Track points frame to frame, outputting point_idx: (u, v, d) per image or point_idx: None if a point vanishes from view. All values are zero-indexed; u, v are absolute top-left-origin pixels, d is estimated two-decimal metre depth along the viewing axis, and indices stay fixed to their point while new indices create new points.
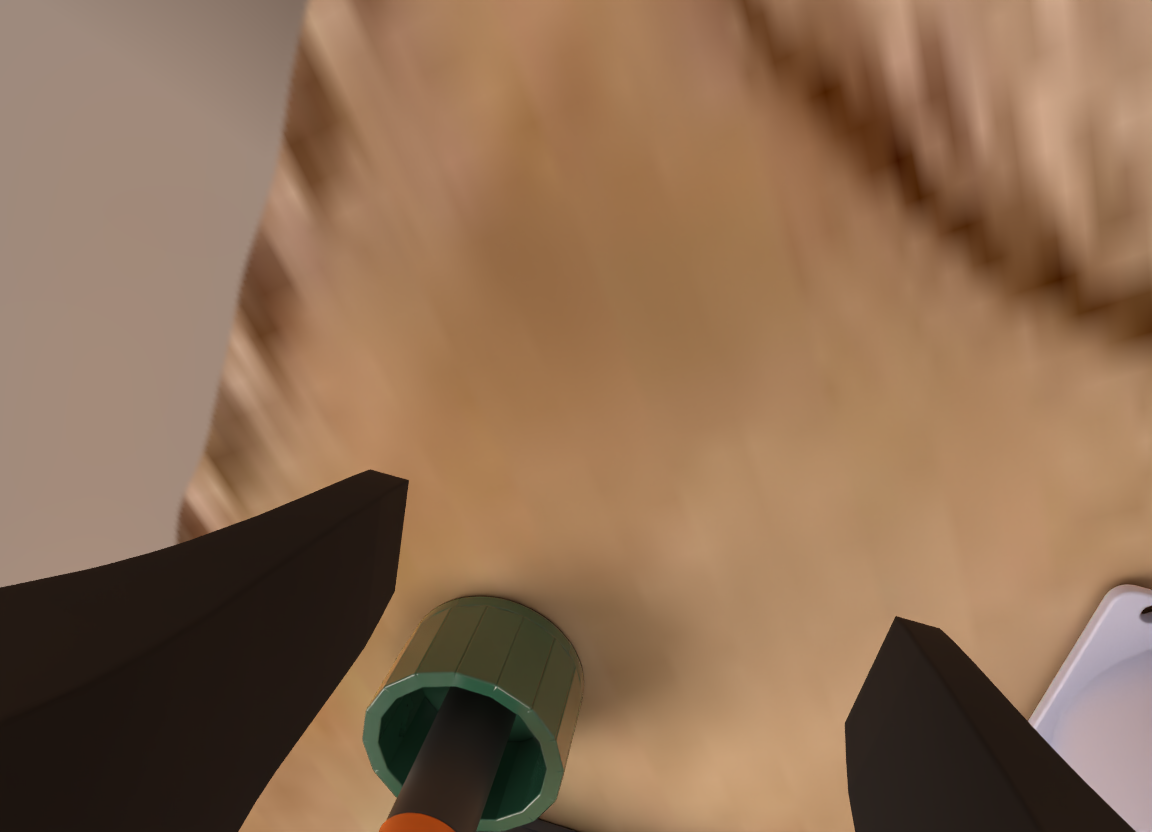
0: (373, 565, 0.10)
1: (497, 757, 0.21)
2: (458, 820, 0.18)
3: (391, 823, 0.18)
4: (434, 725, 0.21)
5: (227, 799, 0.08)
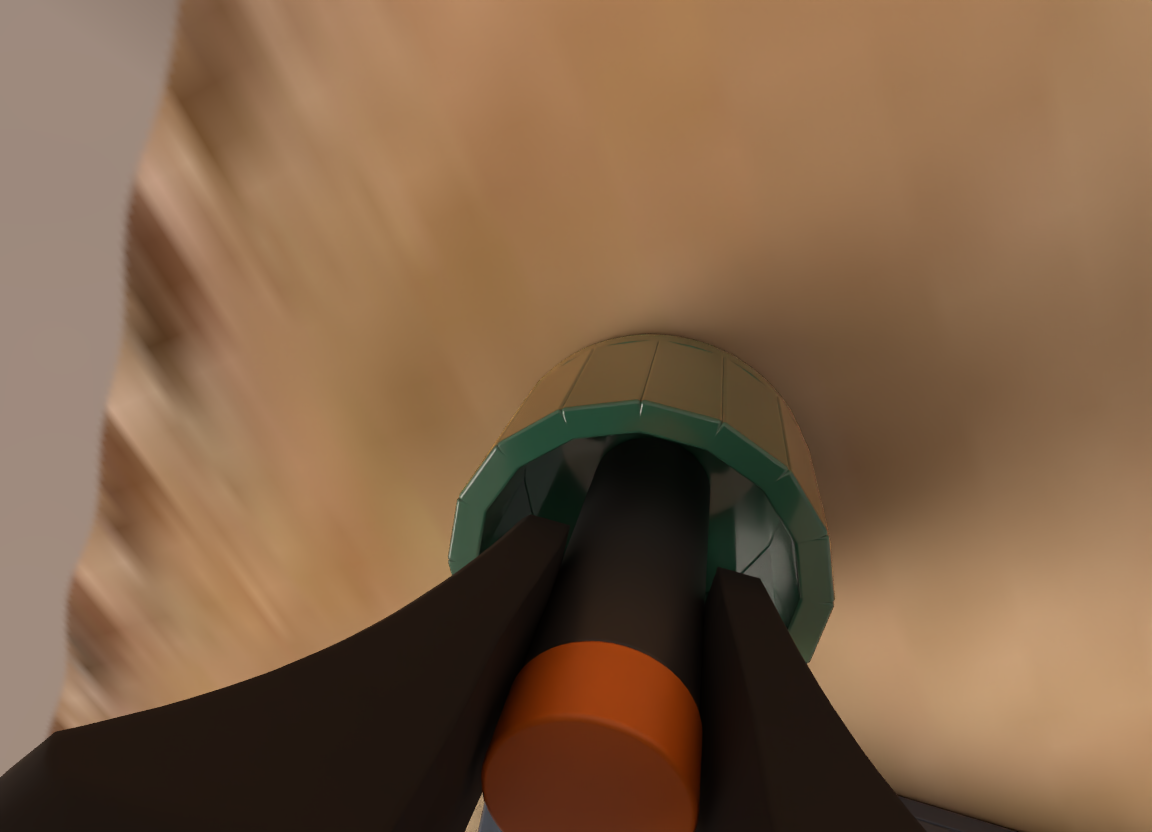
0: None
1: (705, 579, 0.11)
2: (680, 661, 0.09)
3: (545, 661, 0.08)
4: (583, 525, 0.11)
5: None
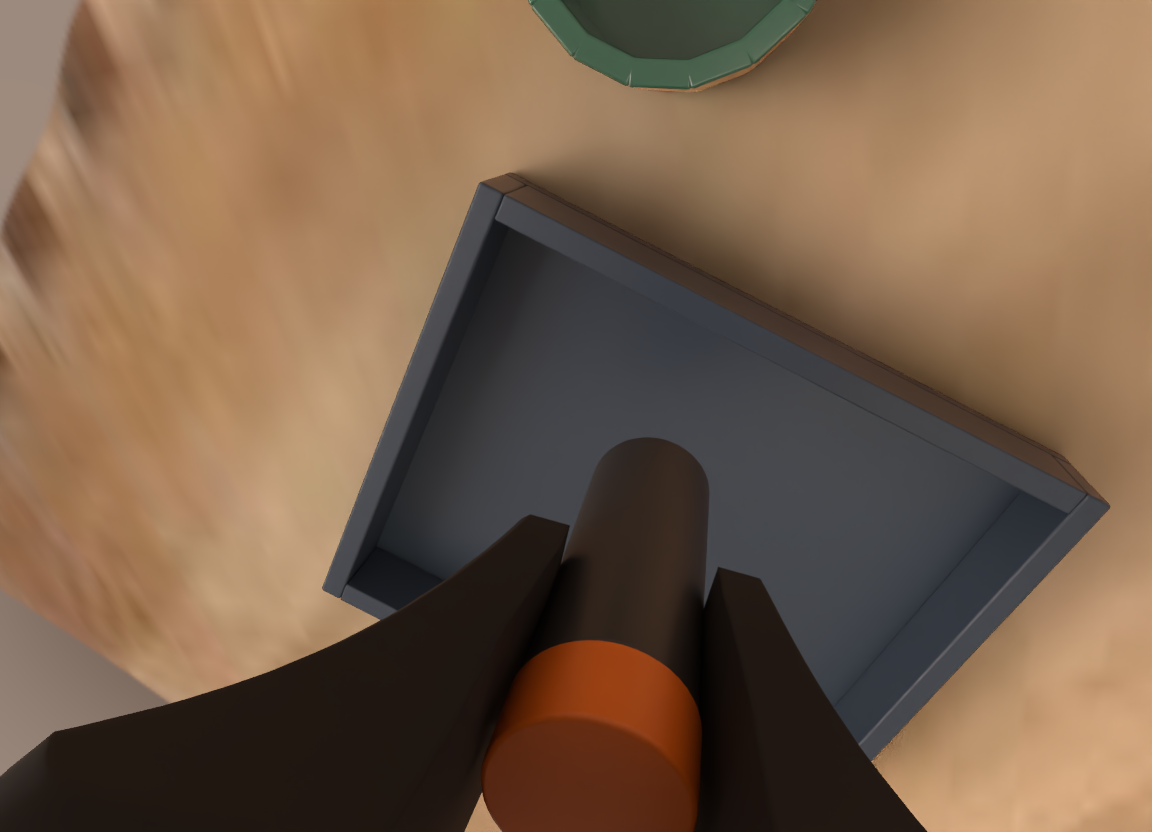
0: None
1: (704, 578, 0.11)
2: (680, 661, 0.09)
3: (545, 660, 0.08)
4: (582, 524, 0.11)
5: None
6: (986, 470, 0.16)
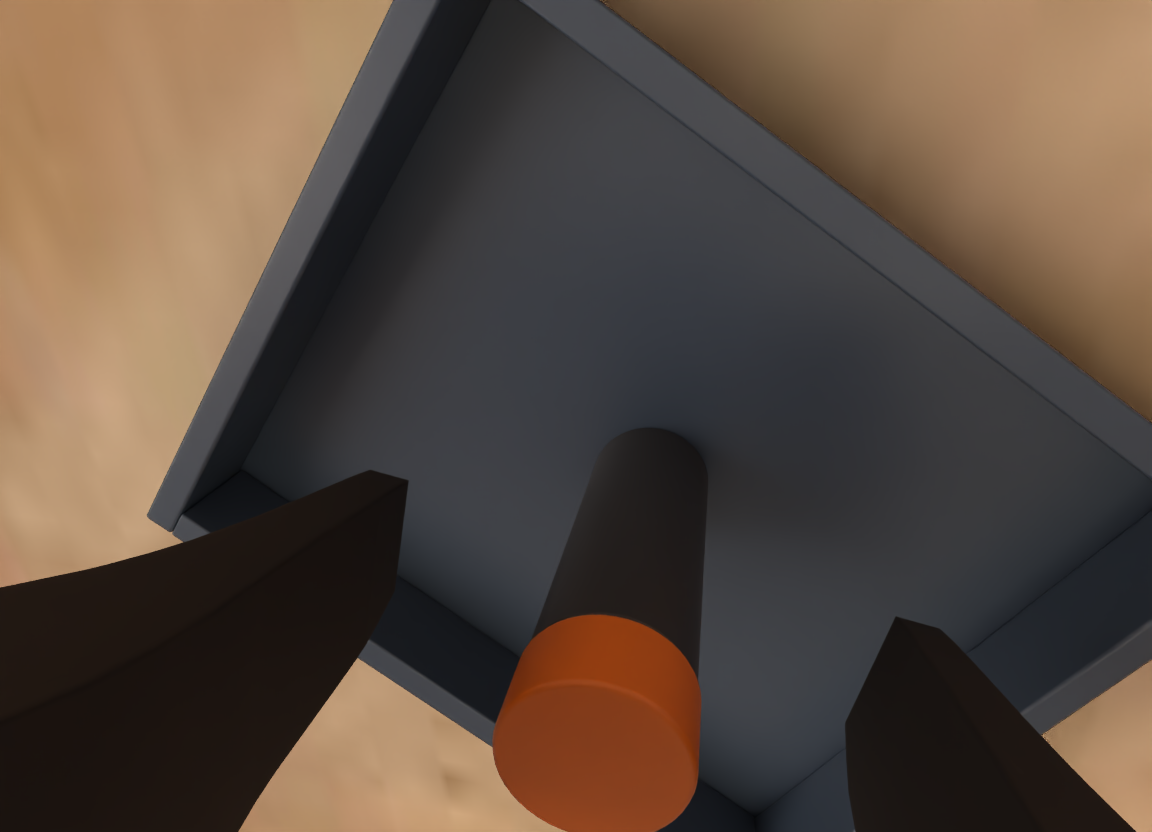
0: (373, 565, 0.10)
1: (703, 561, 0.12)
2: (680, 634, 0.09)
3: (552, 634, 0.09)
4: (586, 510, 0.12)
5: (227, 799, 0.08)
6: (1144, 470, 0.11)
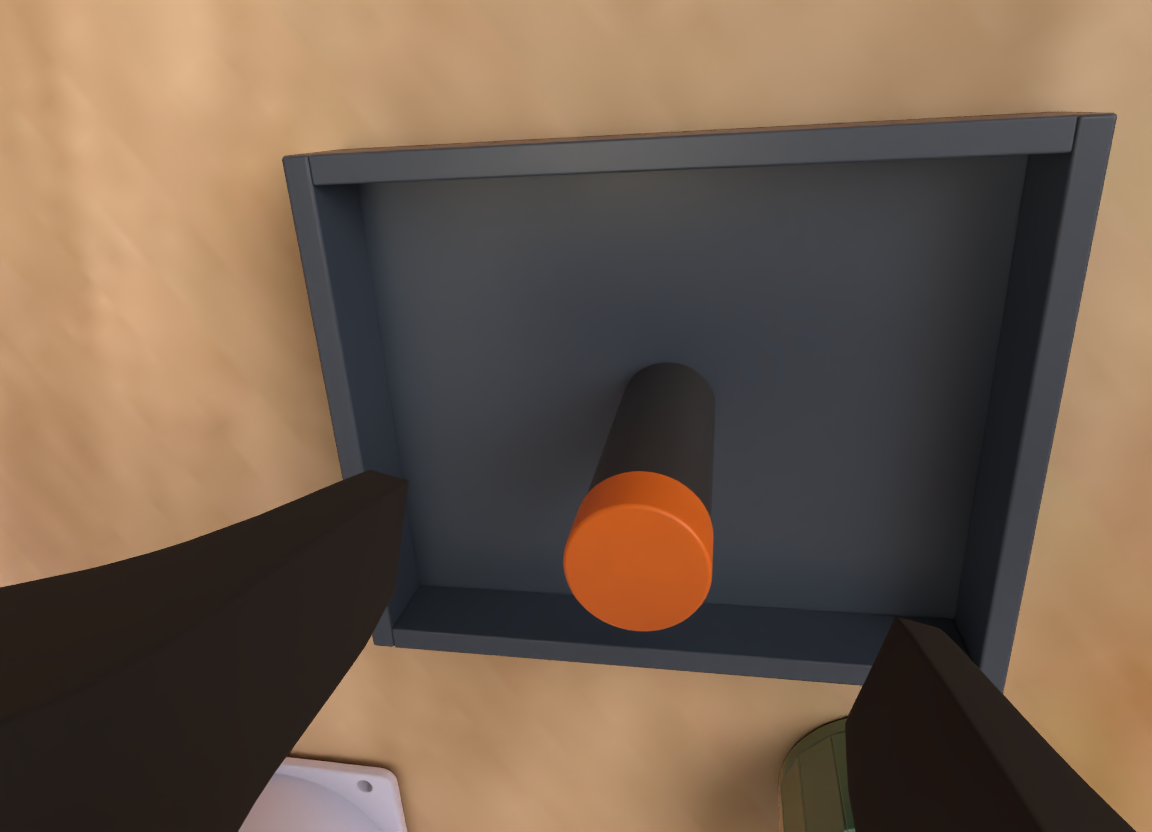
0: (373, 565, 0.10)
1: None
2: None
3: None
4: None
5: (227, 799, 0.08)
6: (467, 636, 0.19)
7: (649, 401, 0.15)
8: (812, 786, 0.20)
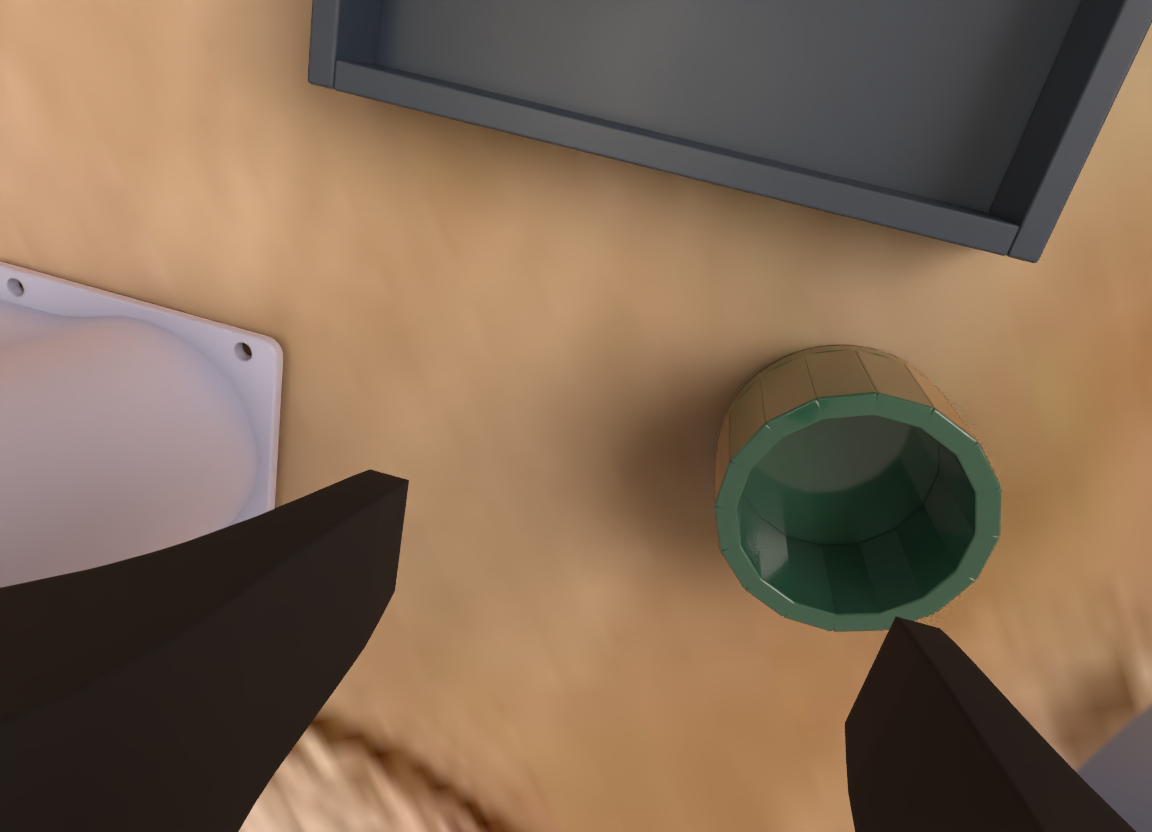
0: (373, 565, 0.10)
1: None
2: None
3: None
4: None
5: (227, 799, 0.08)
6: (428, 84, 0.15)
7: None
8: (775, 387, 0.17)
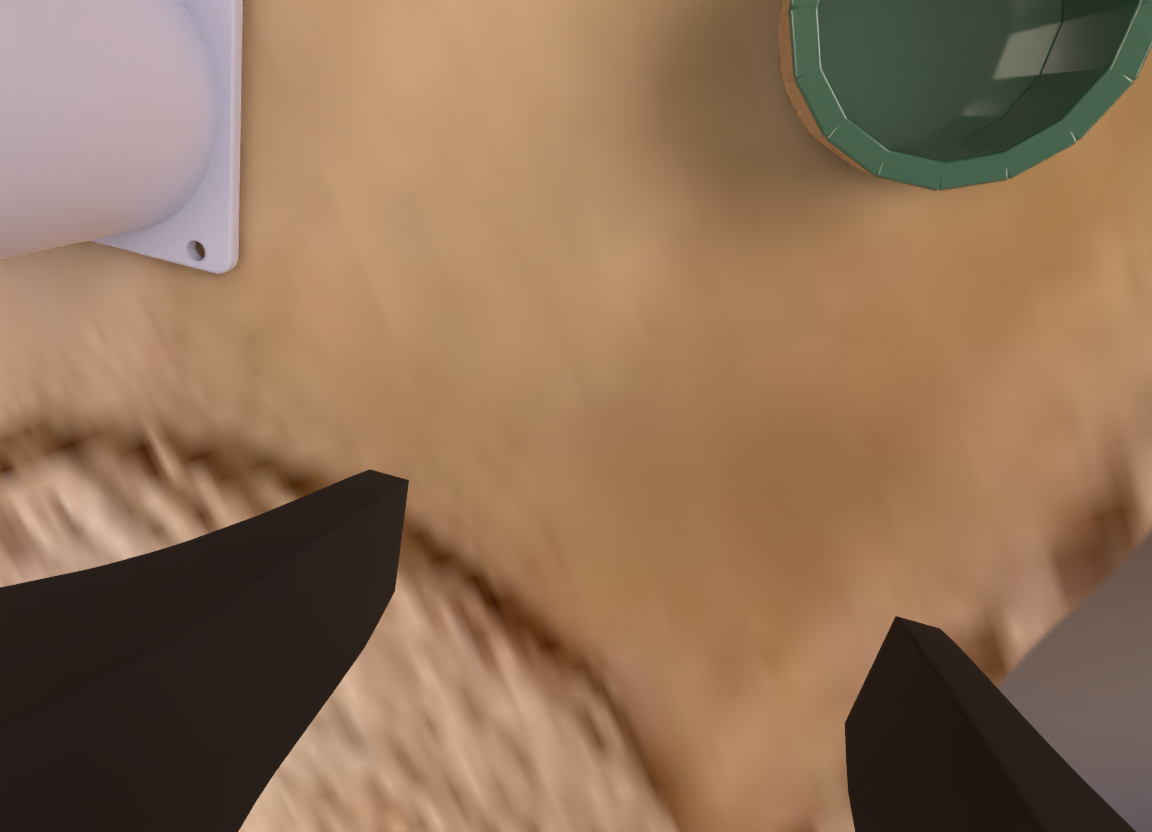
0: (373, 565, 0.10)
1: None
2: None
3: None
4: None
5: (227, 799, 0.08)
6: None
7: None
8: None
